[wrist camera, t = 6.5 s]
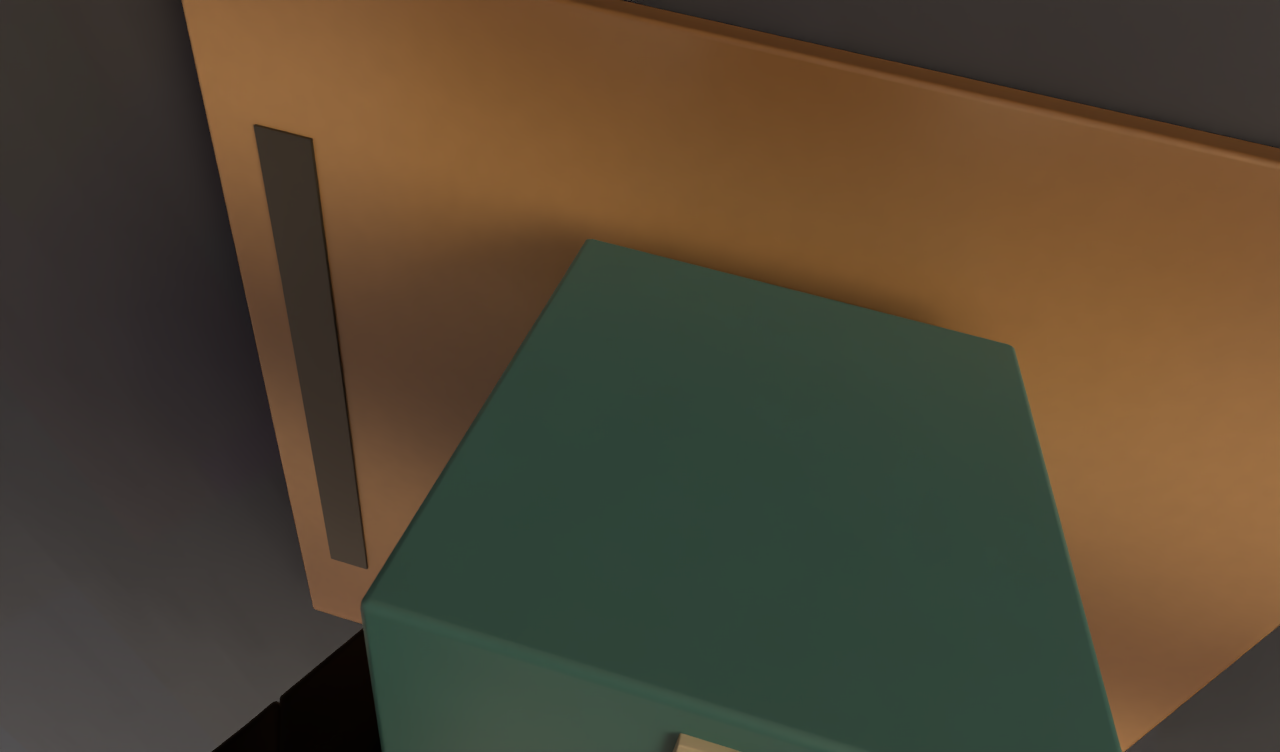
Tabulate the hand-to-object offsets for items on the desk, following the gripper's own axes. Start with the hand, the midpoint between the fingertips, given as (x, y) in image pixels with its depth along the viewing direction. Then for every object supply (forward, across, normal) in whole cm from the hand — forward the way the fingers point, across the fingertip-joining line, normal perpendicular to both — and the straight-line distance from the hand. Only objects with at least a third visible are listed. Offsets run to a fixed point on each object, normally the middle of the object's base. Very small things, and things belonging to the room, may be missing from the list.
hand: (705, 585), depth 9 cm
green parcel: (+1, 0, 0) cm, 1 cm away
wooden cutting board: (+2, 0, 0) cm, 2 cm away
